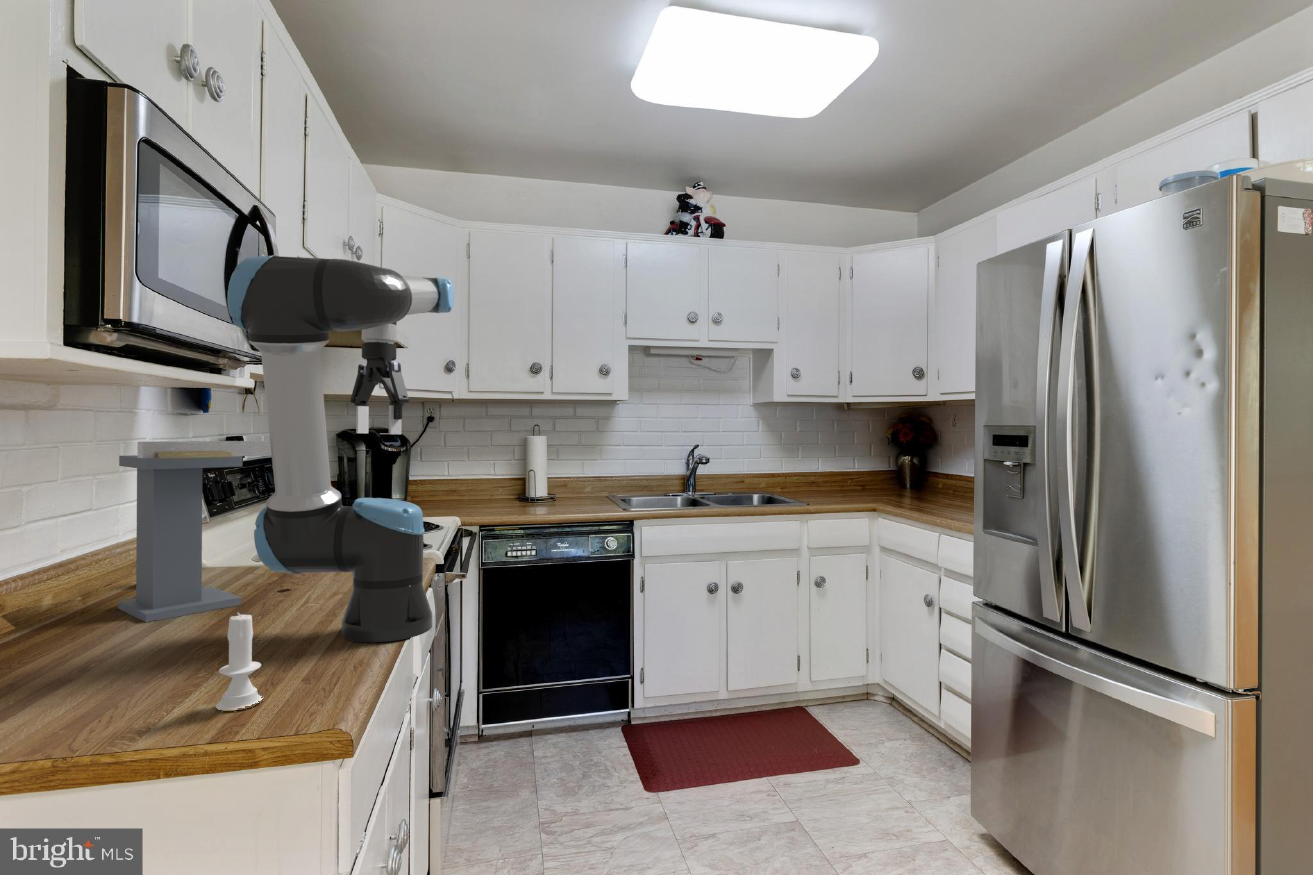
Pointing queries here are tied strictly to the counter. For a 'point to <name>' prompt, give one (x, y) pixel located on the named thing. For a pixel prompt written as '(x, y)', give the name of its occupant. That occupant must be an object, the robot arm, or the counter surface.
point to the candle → (239, 665)
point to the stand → (172, 539)
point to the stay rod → (204, 447)
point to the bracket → (194, 454)
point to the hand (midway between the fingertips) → (378, 433)
